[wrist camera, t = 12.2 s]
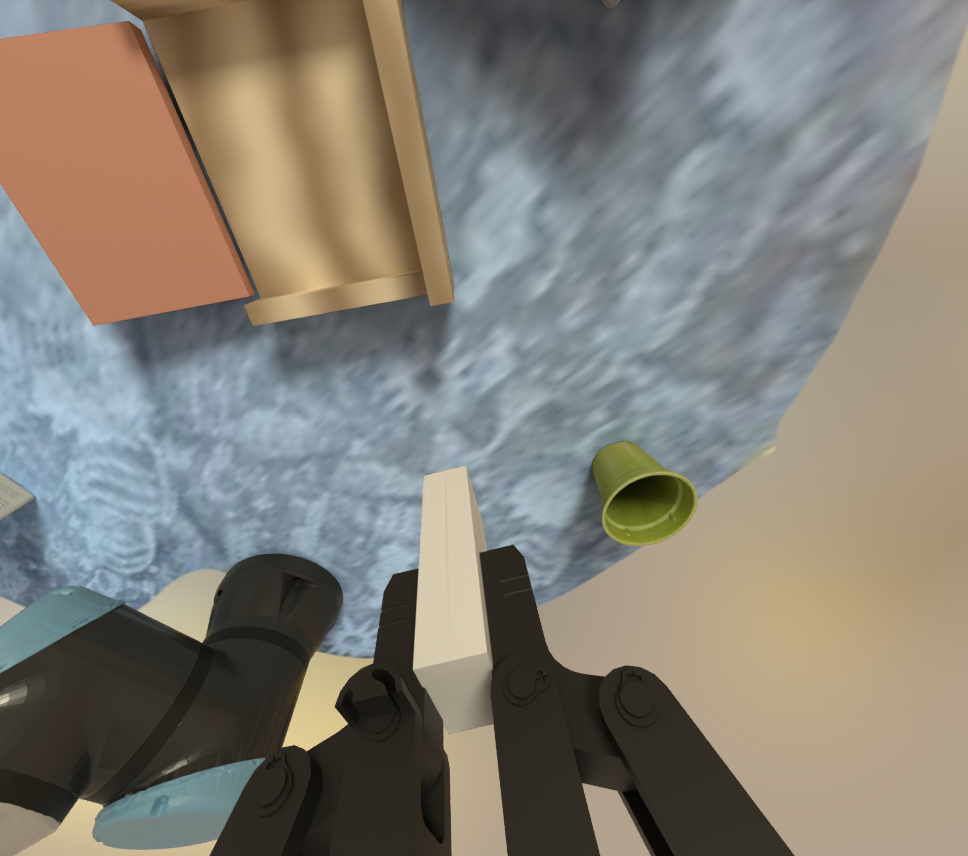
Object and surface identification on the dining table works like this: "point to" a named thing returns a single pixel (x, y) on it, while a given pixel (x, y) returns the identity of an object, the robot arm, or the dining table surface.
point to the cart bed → (310, 146)
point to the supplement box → (12, 496)
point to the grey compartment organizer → (610, 3)
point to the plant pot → (641, 496)
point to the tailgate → (110, 175)
